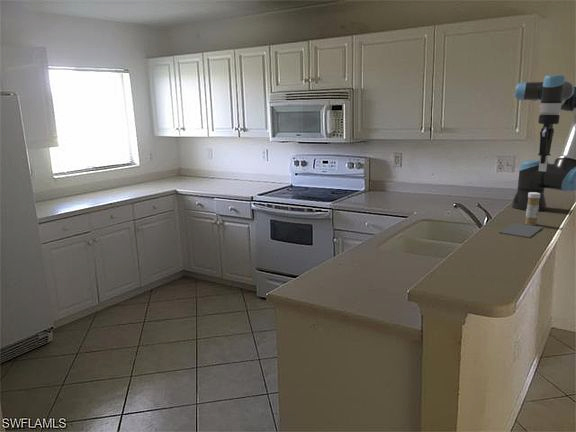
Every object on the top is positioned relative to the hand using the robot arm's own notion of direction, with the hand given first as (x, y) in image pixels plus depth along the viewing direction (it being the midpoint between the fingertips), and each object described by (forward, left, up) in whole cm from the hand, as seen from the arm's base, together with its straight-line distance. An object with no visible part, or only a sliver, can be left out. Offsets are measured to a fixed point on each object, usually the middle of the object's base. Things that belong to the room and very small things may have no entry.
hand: (542, 171), depth 203 cm
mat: (+22, 0, -22) cm, 31 cm away
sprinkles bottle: (+9, 0, -22) cm, 24 cm away
